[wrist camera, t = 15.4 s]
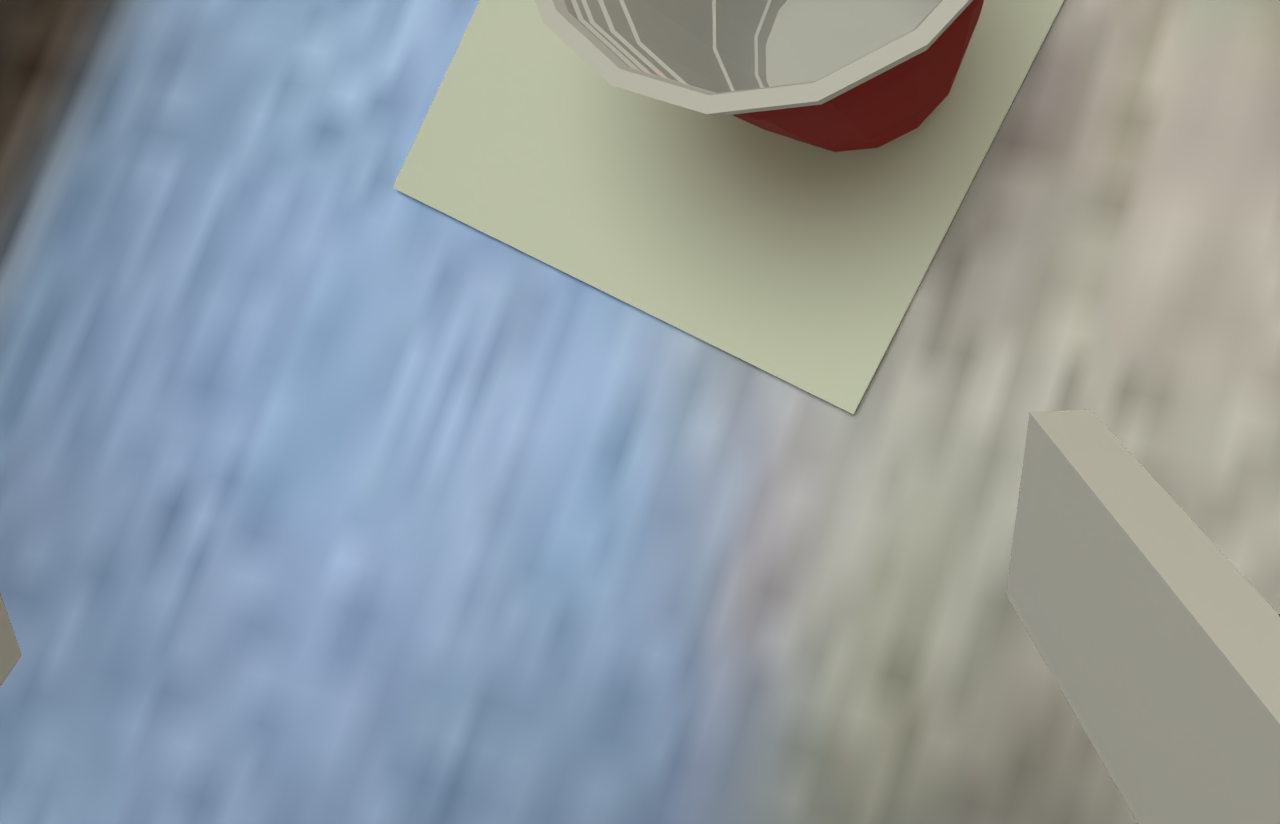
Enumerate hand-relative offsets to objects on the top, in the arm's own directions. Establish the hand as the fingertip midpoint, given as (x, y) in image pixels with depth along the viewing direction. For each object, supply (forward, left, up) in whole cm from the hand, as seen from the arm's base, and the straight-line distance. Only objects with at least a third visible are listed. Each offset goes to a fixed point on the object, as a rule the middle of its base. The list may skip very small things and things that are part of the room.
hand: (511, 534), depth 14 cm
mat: (-6, +11, -20) cm, 24 cm away
